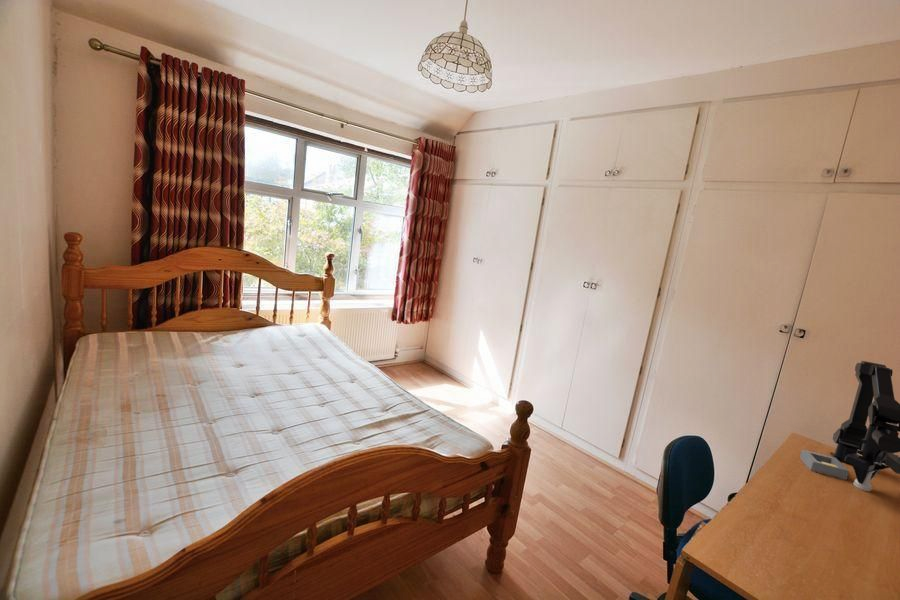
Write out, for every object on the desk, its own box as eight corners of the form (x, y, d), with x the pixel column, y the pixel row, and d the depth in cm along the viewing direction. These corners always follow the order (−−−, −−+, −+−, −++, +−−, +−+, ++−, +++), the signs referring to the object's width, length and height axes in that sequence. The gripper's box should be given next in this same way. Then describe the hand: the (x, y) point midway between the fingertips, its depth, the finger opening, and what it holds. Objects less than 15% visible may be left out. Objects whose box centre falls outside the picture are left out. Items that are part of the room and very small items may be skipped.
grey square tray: (799, 457, 153) (802, 448, 153) (832, 466, 149) (835, 457, 149) (810, 470, 144) (813, 461, 144) (846, 480, 140) (849, 470, 140)
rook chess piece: (850, 484, 137) (857, 463, 136) (856, 482, 139) (862, 461, 138) (867, 493, 134) (874, 471, 132) (873, 490, 135) (880, 469, 134)
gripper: (896, 456, 123) (880, 501, 125) (925, 451, 130) (910, 494, 132) (850, 437, 133) (836, 480, 135) (879, 433, 140) (866, 473, 142)
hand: (863, 482), depth 136 cm, fingers open, 4 cm apart
